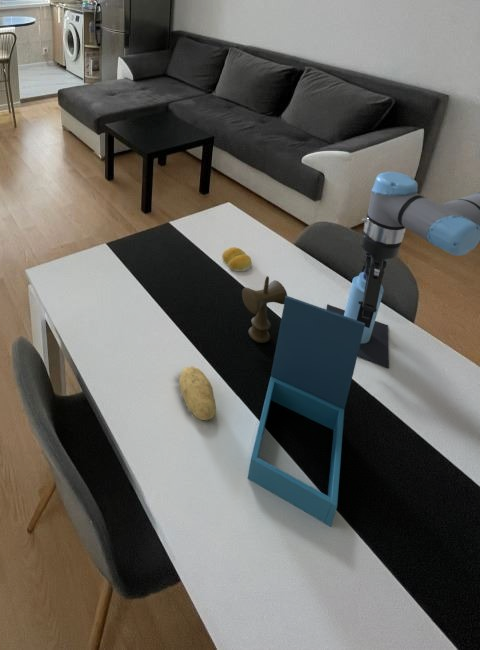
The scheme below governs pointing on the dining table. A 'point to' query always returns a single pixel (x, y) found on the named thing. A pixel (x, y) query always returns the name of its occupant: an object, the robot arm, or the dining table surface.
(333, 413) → the blue open box
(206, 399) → the potato
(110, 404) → the dining table surface
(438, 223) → the robot arm
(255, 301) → the kendama
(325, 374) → the lid
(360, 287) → the water bottle
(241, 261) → the bread roll
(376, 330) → the mat
